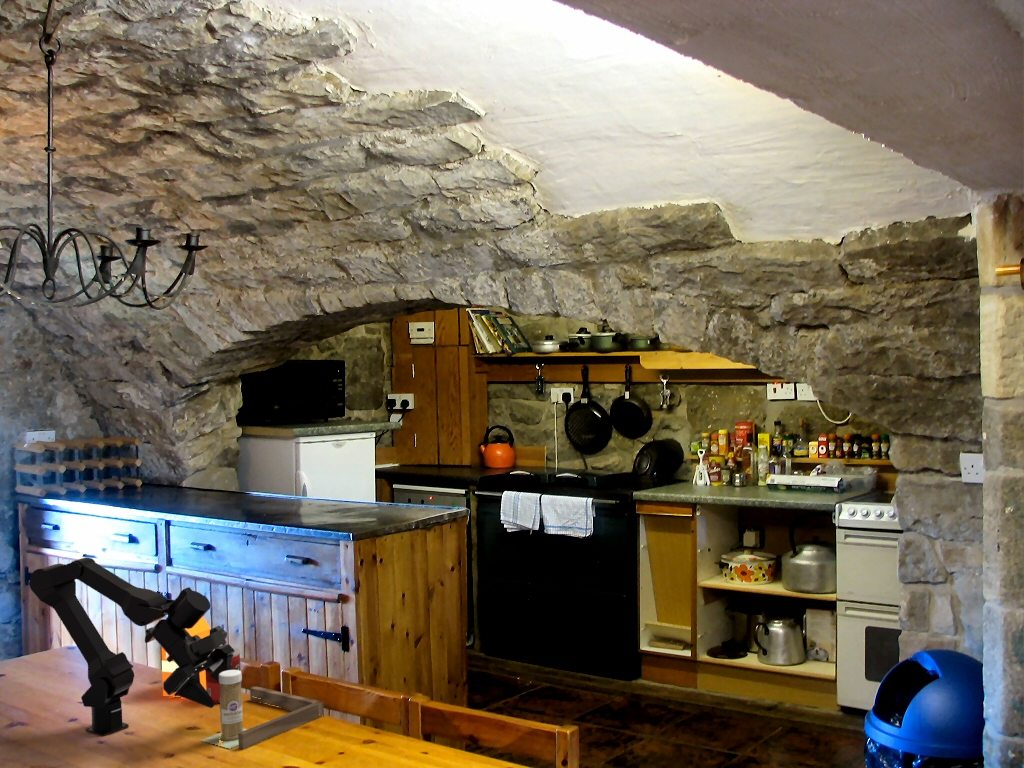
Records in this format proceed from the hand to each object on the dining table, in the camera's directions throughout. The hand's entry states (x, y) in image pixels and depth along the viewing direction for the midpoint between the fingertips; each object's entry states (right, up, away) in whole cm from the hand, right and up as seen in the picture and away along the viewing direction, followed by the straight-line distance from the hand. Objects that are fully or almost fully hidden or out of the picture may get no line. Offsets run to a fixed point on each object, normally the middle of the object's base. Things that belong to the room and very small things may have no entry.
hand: (225, 698), depth 198 cm
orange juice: (-18, -9, +31) cm, 37 cm away
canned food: (-8, -9, +25) cm, 28 cm away
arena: (+2, -8, +8) cm, 12 cm away
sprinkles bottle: (+1, -8, 0) cm, 8 cm away
